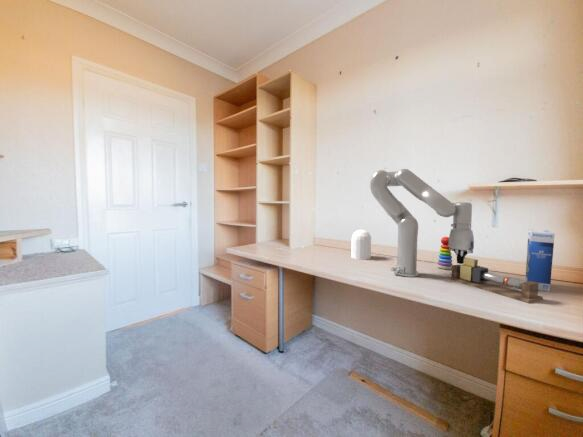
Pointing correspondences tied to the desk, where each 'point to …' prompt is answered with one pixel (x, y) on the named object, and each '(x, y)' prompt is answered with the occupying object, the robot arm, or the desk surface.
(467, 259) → the sleeve
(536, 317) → the desk surface
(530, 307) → the desk surface
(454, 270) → the stand
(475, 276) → the grey square collar
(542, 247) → the string lights box
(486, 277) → the pipe
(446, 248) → the stacking toy
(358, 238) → the container
